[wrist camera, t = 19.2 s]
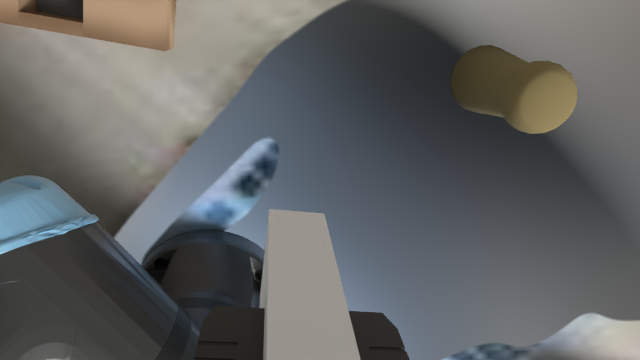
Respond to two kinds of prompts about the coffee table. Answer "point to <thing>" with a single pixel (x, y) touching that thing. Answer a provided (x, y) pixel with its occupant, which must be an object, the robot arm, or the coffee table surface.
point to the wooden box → (98, 19)
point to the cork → (514, 89)
